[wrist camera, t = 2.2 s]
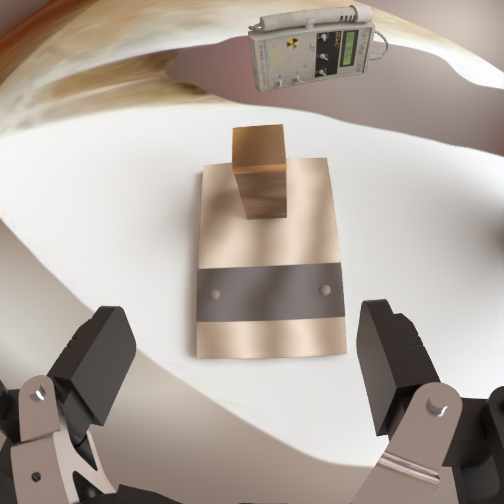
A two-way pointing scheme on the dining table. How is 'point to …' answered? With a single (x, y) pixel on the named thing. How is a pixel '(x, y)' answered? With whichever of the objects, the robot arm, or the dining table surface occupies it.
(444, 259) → the dining table surface
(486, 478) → the robot arm
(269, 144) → the walnut block
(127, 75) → the dining table surface
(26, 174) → the dining table surface
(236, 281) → the subfloor panel
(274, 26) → the geiger counter
